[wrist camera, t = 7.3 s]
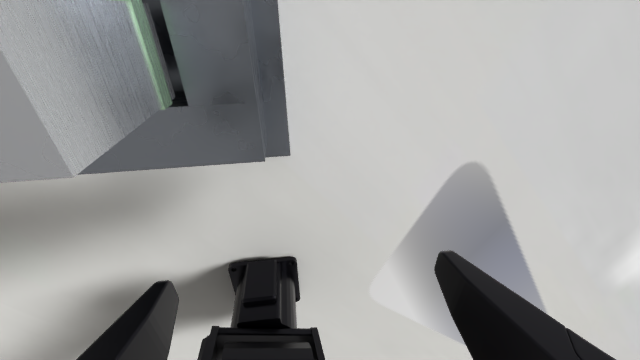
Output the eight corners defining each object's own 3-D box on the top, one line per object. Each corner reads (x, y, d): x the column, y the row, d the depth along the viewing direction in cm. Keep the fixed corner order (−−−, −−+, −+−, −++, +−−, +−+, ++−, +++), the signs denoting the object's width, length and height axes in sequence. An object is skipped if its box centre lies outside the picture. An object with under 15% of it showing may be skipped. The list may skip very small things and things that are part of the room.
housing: (290, 150, 21) (292, 185, 17) (80, 165, 20) (25, 206, 15) (266, -132, 13) (259, -201, 9) (-86, -142, 12) (-293, -230, 8)
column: (177, 98, 14) (79, 180, 7) (90, 103, 14) (-103, 193, 7) (149, 0, 12) (-32, -18, 5) (43, 2, 11) (-313, -15, 5)
